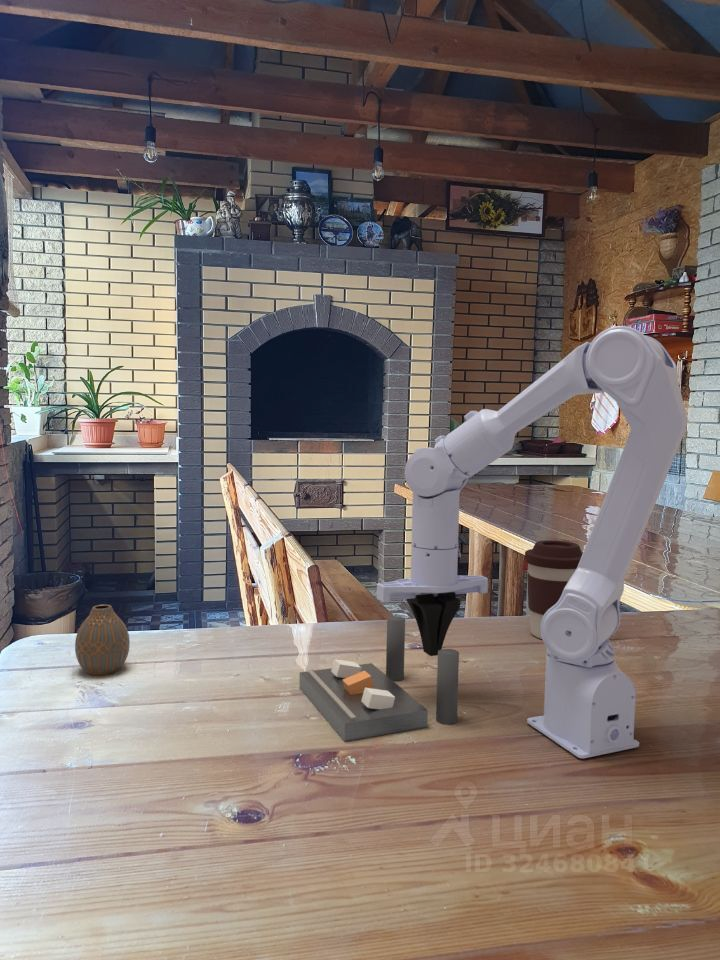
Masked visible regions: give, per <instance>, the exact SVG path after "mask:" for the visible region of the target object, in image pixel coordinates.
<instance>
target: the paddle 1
mask: <svg viewBox="0 0 720 960" xmlns="http://www.w3.org/2000/svg"><path fill="white" fill-rule="evenodd" d="M359 665H360V664H359V663H357V662H355V661H349V660H342V659H337V658H335V659H333V662H332V666H331V668H332V670H331V672H332V673H333V674H334V675H335V676H336V677H341V678H348V677H350V676H352V675H355V674H357V673H360V671H361V667H360V666H359Z"/></svg>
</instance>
